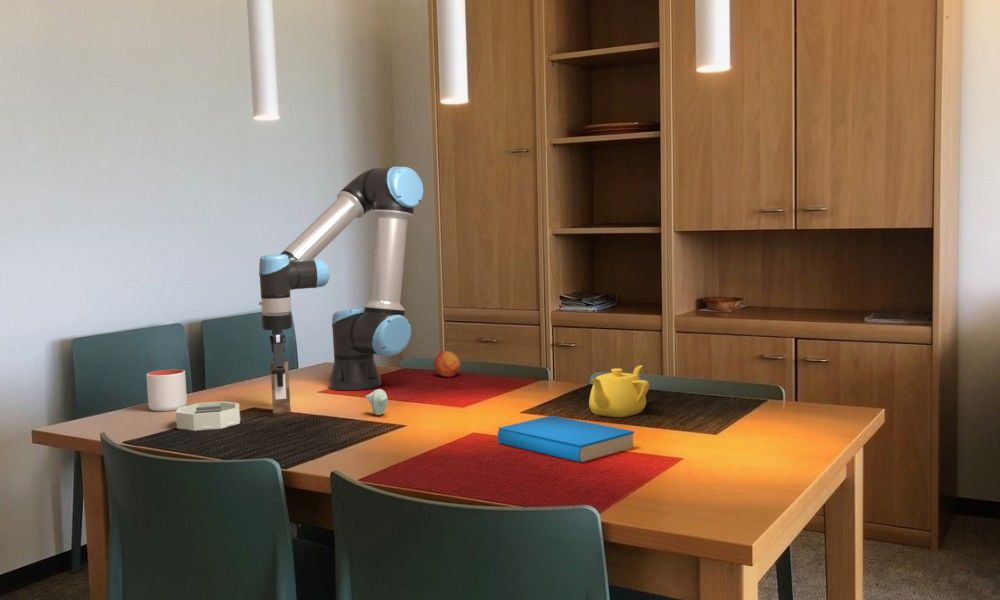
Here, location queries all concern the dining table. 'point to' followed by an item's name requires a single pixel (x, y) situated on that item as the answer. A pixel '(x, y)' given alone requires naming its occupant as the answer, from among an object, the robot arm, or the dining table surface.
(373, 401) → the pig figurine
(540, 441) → the book
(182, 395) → the cup
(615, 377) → the teapot
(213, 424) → the octagonal tray
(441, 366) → the fruit
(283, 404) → the brown tall block
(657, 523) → the dining table surface
